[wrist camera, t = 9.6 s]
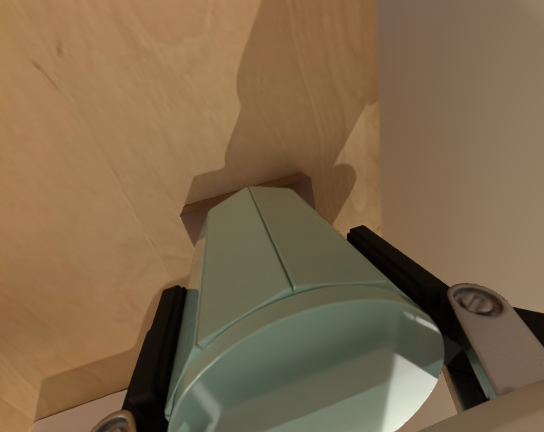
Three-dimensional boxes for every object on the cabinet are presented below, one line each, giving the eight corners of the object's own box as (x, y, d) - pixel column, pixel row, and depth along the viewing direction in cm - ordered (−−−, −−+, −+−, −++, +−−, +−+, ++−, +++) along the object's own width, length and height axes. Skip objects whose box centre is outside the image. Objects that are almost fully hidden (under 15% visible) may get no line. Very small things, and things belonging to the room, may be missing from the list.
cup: (255, 155, 11) (331, 229, 3) (344, 236, 14) (485, 365, 6) (167, 259, 12) (87, 479, 5) (268, 312, 15) (316, 496, 8)
